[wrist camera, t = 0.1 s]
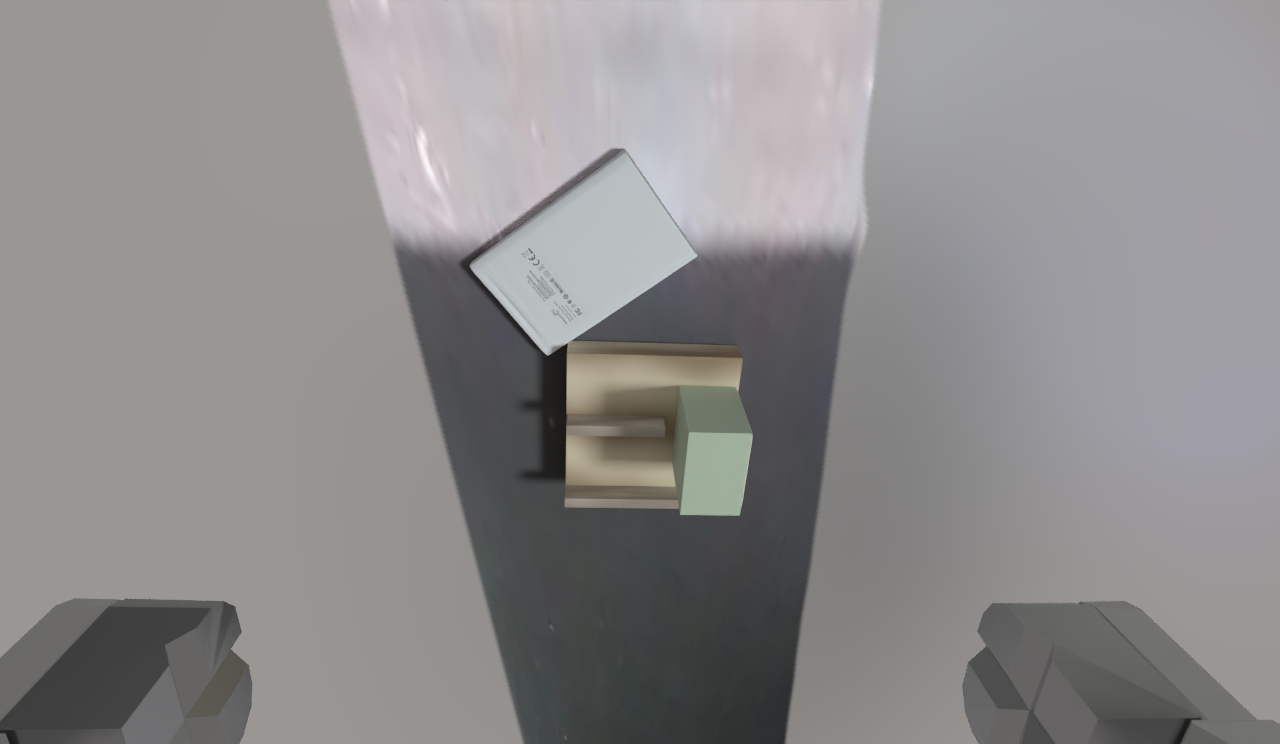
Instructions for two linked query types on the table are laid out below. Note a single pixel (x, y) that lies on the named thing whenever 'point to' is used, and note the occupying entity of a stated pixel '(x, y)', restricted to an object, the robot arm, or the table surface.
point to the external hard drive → (584, 255)
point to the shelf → (632, 417)
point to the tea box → (710, 450)
